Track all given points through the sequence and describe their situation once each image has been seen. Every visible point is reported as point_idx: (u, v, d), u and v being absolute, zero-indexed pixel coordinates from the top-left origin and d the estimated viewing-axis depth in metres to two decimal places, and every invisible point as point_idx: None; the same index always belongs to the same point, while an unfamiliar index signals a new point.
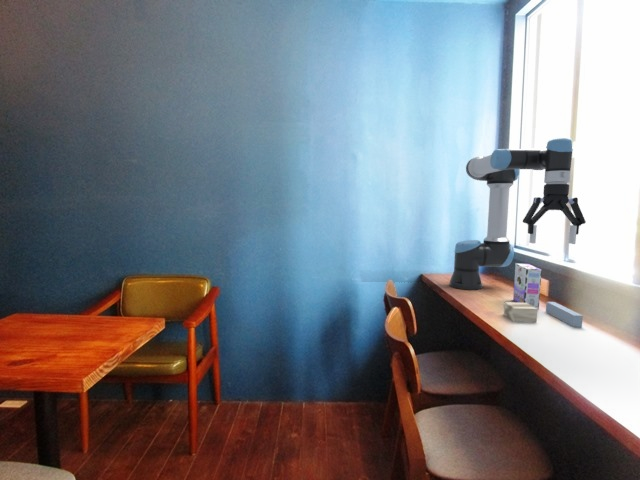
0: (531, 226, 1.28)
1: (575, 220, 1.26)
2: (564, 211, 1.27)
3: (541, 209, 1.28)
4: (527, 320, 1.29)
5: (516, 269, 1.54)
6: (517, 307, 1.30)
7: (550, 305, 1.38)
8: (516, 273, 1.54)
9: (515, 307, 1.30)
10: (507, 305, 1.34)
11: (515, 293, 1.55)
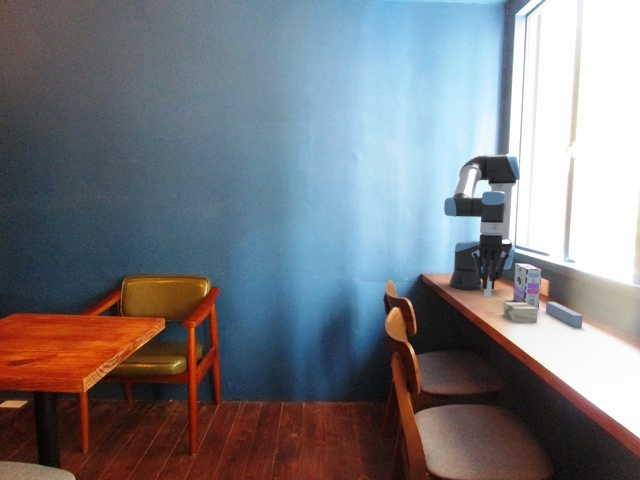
0: (485, 281, 1.31)
1: (494, 274, 1.31)
2: (491, 262, 1.31)
3: (483, 262, 1.32)
4: (527, 320, 1.29)
5: (516, 269, 1.54)
6: (518, 307, 1.30)
7: (550, 305, 1.38)
8: (516, 273, 1.54)
9: (516, 307, 1.30)
10: (507, 305, 1.34)
11: (515, 293, 1.55)
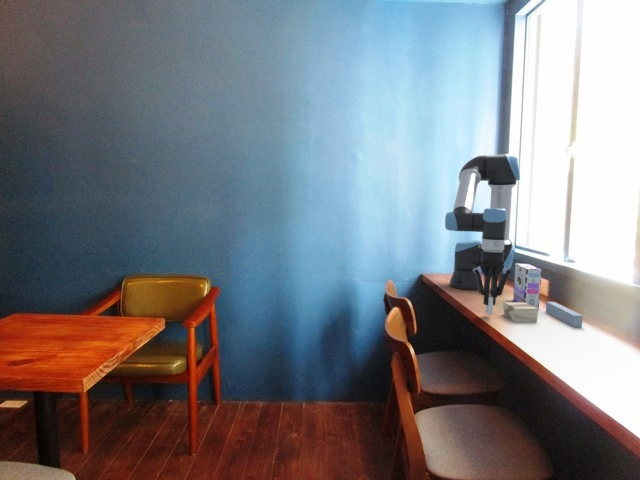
0: (486, 298, 1.32)
1: (495, 291, 1.31)
2: (492, 278, 1.32)
3: (485, 278, 1.33)
4: (528, 320, 1.29)
5: (516, 269, 1.54)
6: (518, 307, 1.30)
7: (550, 305, 1.38)
8: (516, 273, 1.54)
9: (516, 307, 1.30)
10: (507, 305, 1.34)
11: (515, 293, 1.55)
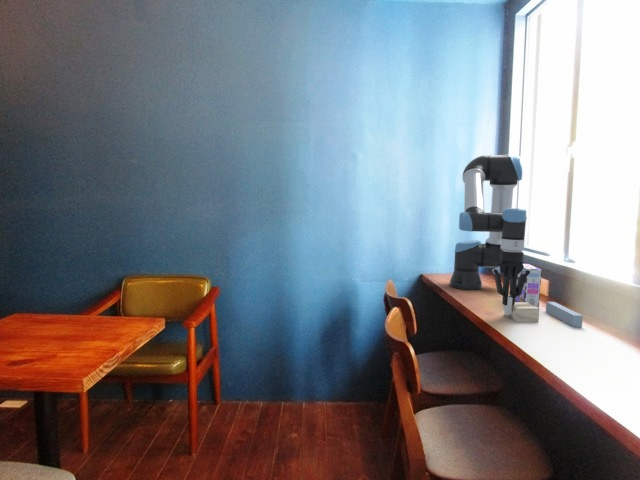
0: (505, 298, 1.32)
1: (514, 291, 1.31)
2: (512, 278, 1.31)
3: (504, 278, 1.32)
4: (529, 320, 1.29)
5: None
6: (519, 307, 1.29)
7: (550, 305, 1.38)
8: None
9: (517, 307, 1.29)
10: None
11: None
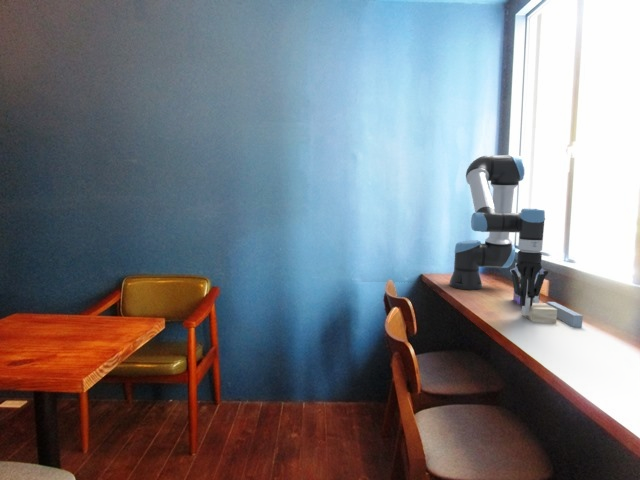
0: (523, 298, 1.31)
1: (532, 291, 1.30)
2: (529, 279, 1.31)
3: (522, 279, 1.32)
4: (547, 321, 1.28)
5: None
6: (536, 308, 1.29)
7: (550, 305, 1.38)
8: None
9: (534, 308, 1.29)
10: None
11: None
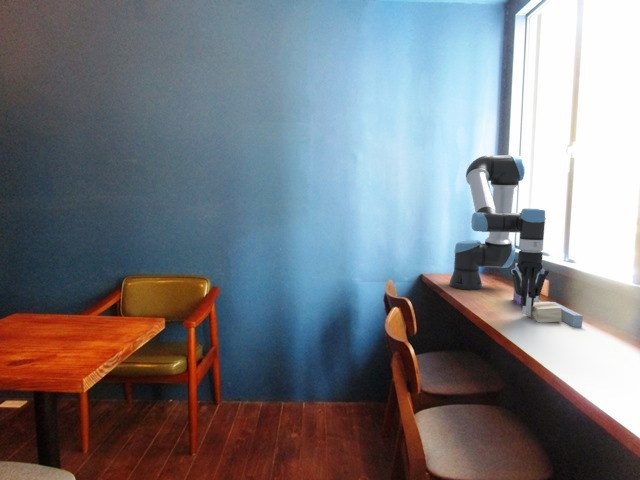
0: (524, 298, 1.31)
1: (533, 291, 1.30)
2: (530, 279, 1.31)
3: (522, 279, 1.31)
4: (552, 320, 1.28)
5: None
6: (540, 307, 1.29)
7: None
8: None
9: (538, 308, 1.29)
10: None
11: (515, 293, 1.55)
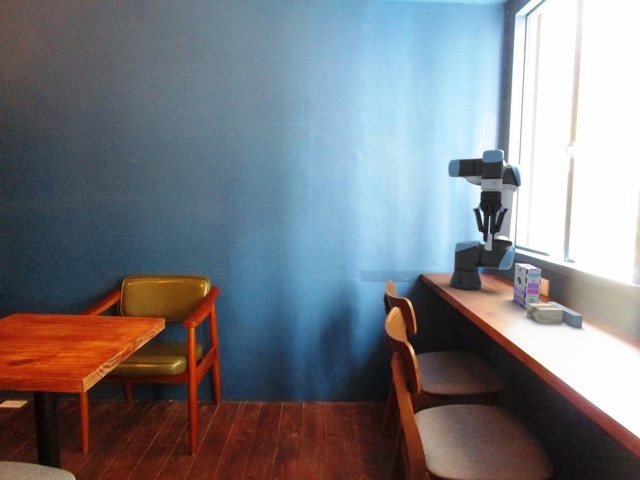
0: (485, 235, 1.42)
1: (494, 228, 1.41)
2: (491, 216, 1.42)
3: (484, 217, 1.42)
4: (552, 321, 1.28)
5: (516, 269, 1.54)
6: (542, 308, 1.28)
7: None
8: (516, 273, 1.54)
9: (540, 308, 1.28)
10: (531, 306, 1.33)
11: (515, 293, 1.55)
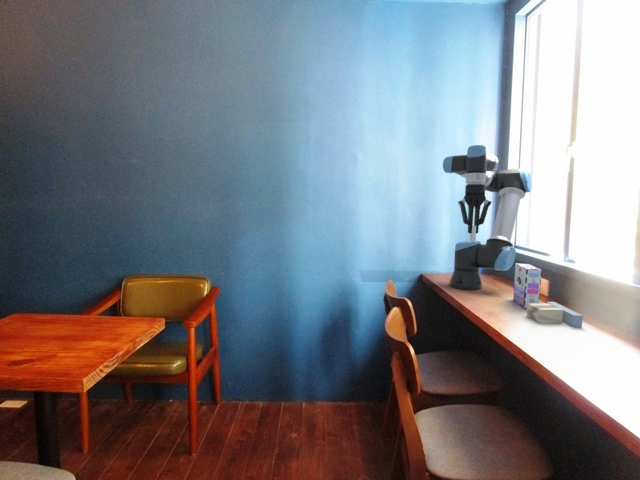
0: (470, 226, 1.49)
1: (478, 220, 1.48)
2: (476, 209, 1.48)
3: (469, 209, 1.49)
4: (553, 321, 1.28)
5: (516, 269, 1.54)
6: (543, 308, 1.28)
7: None
8: (516, 273, 1.54)
9: (541, 308, 1.28)
10: (531, 306, 1.33)
11: (515, 293, 1.55)
